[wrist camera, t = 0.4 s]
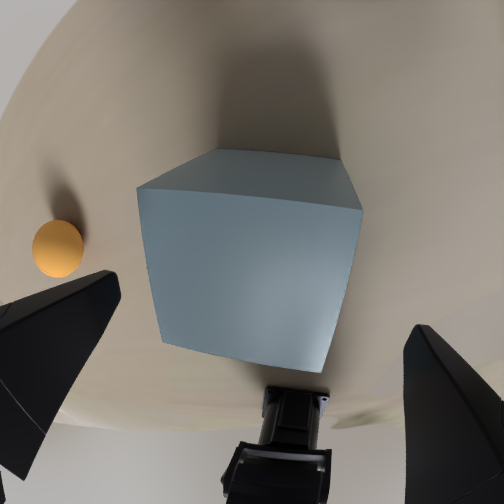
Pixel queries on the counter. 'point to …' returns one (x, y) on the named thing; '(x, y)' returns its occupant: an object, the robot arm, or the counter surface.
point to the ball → (57, 248)
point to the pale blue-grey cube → (251, 254)
